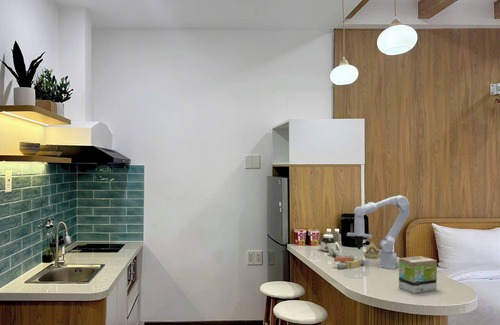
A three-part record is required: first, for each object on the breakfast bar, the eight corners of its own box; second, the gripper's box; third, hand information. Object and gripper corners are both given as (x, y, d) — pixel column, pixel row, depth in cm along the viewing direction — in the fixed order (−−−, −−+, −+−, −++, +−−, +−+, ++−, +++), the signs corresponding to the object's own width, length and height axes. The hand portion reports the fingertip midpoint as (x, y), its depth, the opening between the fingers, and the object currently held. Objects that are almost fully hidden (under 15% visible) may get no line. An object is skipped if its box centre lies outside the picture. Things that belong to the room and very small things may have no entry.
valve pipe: (359, 263, 230) (359, 257, 230) (366, 265, 225) (366, 259, 225) (335, 267, 220) (335, 261, 220) (342, 270, 215) (342, 263, 215)
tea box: (414, 294, 174) (414, 262, 174) (398, 287, 183) (398, 257, 184) (437, 290, 180) (437, 259, 180) (420, 284, 189) (420, 255, 190)
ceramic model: (363, 253, 259) (363, 239, 259) (380, 254, 255) (380, 240, 255) (363, 258, 245) (363, 243, 245) (381, 259, 242) (381, 244, 242)
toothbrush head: (344, 258, 229) (328, 244, 253) (343, 268, 229) (327, 254, 254) (352, 257, 230) (335, 244, 254) (351, 268, 230) (334, 253, 255)
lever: (352, 259, 224) (352, 255, 224) (354, 260, 221) (354, 256, 221) (333, 260, 221) (333, 256, 221) (336, 262, 218) (336, 257, 218)
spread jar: (319, 251, 265) (319, 234, 265) (328, 249, 273) (328, 233, 273) (333, 254, 256) (333, 237, 257) (342, 251, 264) (342, 235, 264)
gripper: (372, 226, 227) (372, 248, 227) (349, 224, 234) (349, 246, 234) (370, 228, 221) (370, 251, 221) (346, 226, 228) (346, 248, 228)
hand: (359, 248), depth 227 cm, fingers closed
